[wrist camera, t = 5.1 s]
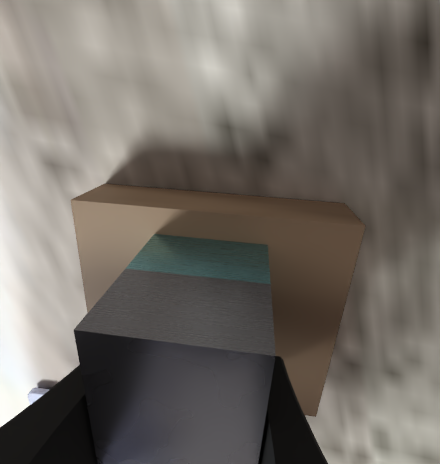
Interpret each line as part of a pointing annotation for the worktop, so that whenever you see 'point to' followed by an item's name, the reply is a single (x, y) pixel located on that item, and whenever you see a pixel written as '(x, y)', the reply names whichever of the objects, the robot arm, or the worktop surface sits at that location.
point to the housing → (181, 355)
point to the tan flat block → (239, 230)
